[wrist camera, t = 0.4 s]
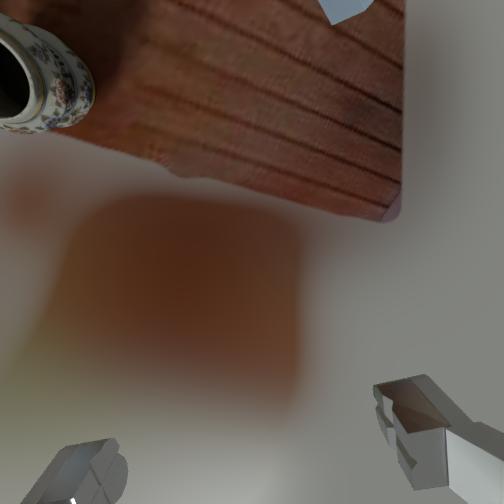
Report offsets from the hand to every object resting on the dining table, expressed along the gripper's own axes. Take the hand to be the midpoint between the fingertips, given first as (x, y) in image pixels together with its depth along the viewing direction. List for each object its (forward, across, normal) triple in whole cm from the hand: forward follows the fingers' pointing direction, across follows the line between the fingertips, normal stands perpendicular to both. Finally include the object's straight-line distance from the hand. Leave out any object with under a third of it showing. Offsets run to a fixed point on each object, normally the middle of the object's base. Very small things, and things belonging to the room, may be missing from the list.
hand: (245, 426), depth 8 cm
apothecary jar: (+40, +24, -30) cm, 56 cm away
